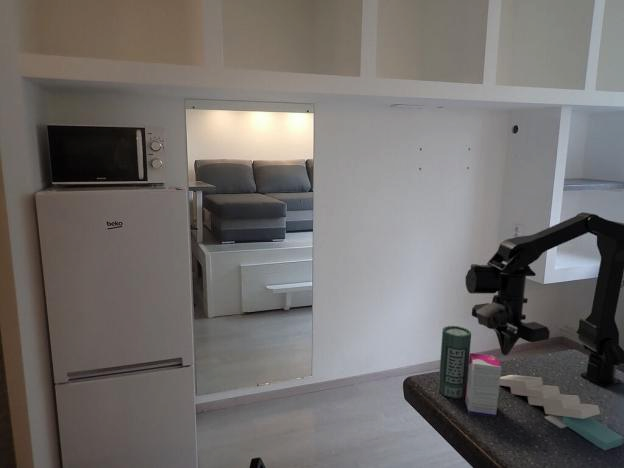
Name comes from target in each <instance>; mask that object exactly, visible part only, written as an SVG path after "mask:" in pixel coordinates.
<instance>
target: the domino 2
mask: <svg viewBox="0 0 624 468" xmlns="http://www.w3.org/2000/svg"><path fill="white" fill-rule="evenodd" d="M509 389H510V393H511V395H517V396H525V397H529V396H530V397H537V398H543V399H544V398H548V397H551V396H555V395H559V394H561V392H560V387H559V386H555V385H546V384H543V385H541V386H537V387H532V388H528V389H524V388H516V387H510V388H509Z"/></svg>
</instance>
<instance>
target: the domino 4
mask: <svg viewBox="0 0 624 468" xmlns="http://www.w3.org/2000/svg"><path fill="white" fill-rule="evenodd" d="M543 409H544V414H545V415H558V416H566V417H574V418H581V419H584V418H587V417H591V418H592V417H593V416H597V415H600V414H601V411H600V408H599V405H598V404H589V403H588V404H587V403H581V404H578V405H574V406H570V407H567V408H556V407H547V406H543Z"/></svg>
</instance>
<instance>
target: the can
mask: <svg viewBox="0 0 624 468" xmlns="http://www.w3.org/2000/svg"><path fill="white" fill-rule="evenodd" d="M441 333H442V334H441V346H440V361H439V362H440V363H439V374H438V375H439V376H438V388H439V389H438V393H440V395H442V396H445V395H446V396H445V397H447V396H448V397H451V398H450V399H456V400H457V399H462V398H465V396H466V387H467V378H468V368H469V359H470V352H471V343H472V342H471V340H472V332H471V330H469V329H468V328H465V327H462V326H458V325H448V326H444V327H442V332H441Z"/></svg>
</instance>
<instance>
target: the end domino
mask: <svg viewBox="0 0 624 468" xmlns="http://www.w3.org/2000/svg"><path fill="white" fill-rule="evenodd" d="M562 423H563V424H565V425H566V426H568V427H567V428H569V429H571V430H572V431H574V432H575V433H577V434H578V435H580V436H581V437H583V438H584V439H585V440H587V441H589V442H591V443H592V444H593V445H594V446H596V447H598V448H600V449H601V450H603V451H607V450H610V449H614V448H617V447H620V446H622V445H623V441H624V436H622V435H620V434H618V433H616V432H614V431H613V430H612V429H610V428H608V427H607V426H605V425H604V424H602V423H600V422H598V421H597V420H595V419H594V418H592V416H591V417H587V418H584V419H581V418H574V417H566V416H563V421H562Z"/></svg>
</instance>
